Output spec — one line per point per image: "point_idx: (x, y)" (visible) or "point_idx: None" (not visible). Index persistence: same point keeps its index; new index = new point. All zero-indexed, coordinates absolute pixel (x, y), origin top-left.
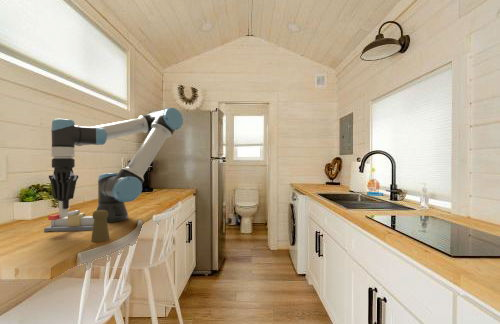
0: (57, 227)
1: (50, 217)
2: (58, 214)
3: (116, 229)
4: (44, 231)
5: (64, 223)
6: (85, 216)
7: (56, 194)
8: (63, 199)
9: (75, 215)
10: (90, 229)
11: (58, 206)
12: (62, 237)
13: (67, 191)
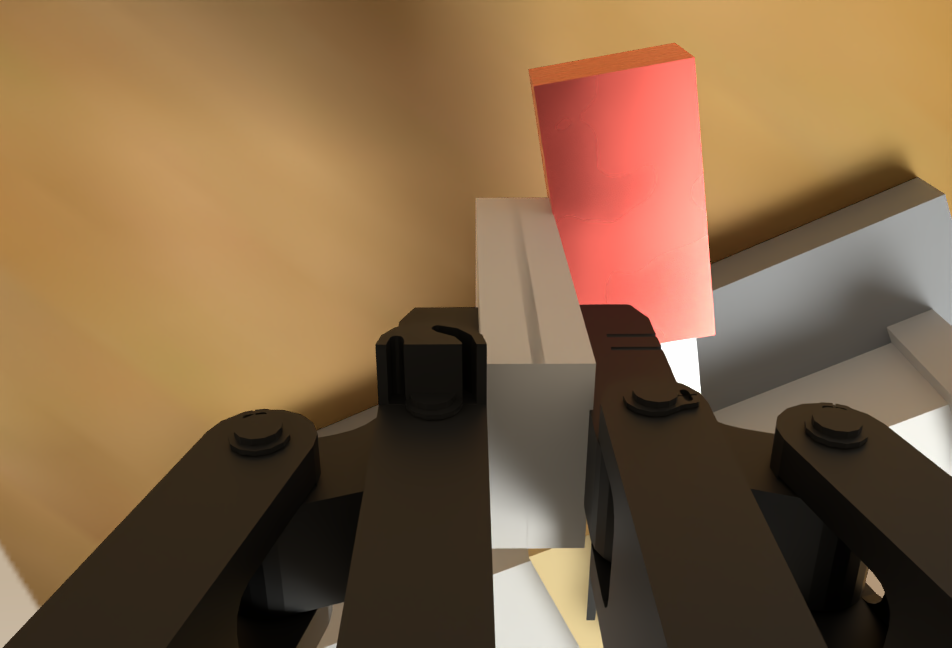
0: (767, 290)
1: (629, 60)
2: (617, 250)
3: (34, 548)
4: (917, 181)
5: (764, 415)
6: (560, 642)
7: (838, 534)
8: (407, 401)
9: (588, 532)
10: (318, 434)
11: (649, 328)
12: (339, 21)
13: (130, 610)
